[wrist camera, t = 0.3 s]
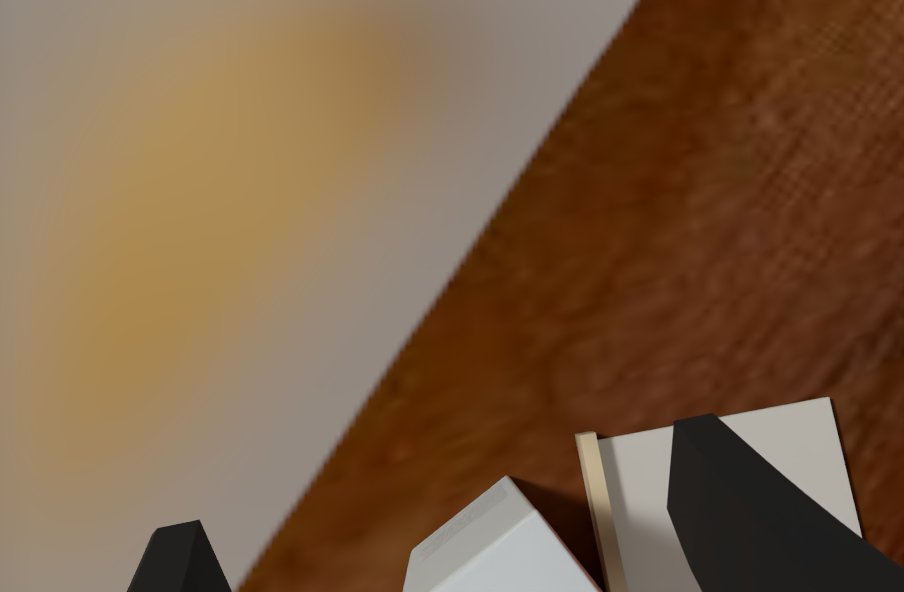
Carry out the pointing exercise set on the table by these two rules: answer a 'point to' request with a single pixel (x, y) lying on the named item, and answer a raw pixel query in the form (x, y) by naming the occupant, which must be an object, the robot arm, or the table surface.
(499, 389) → the table surface
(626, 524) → the mat
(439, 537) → the small box
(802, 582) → the robot arm
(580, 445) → the oak strip
